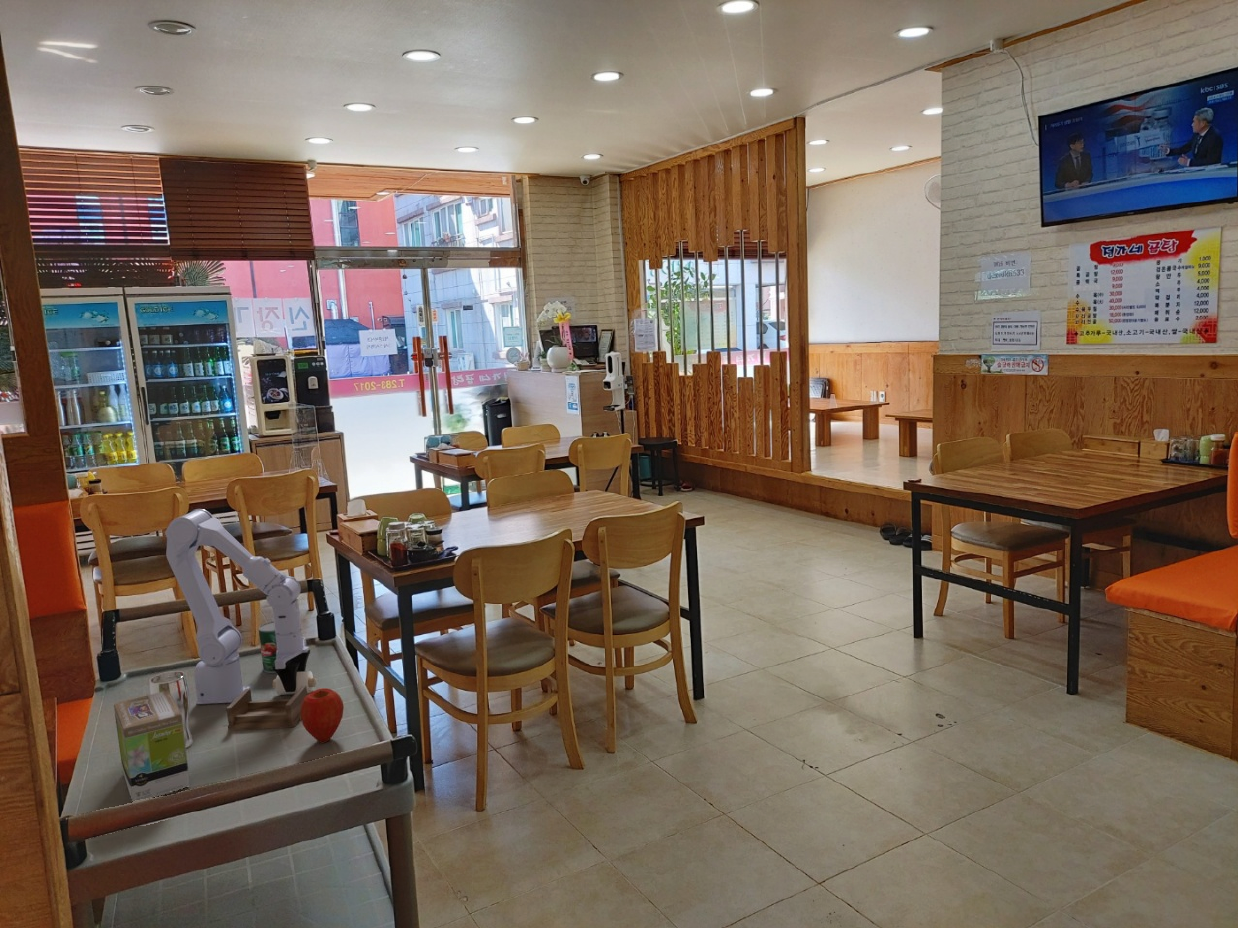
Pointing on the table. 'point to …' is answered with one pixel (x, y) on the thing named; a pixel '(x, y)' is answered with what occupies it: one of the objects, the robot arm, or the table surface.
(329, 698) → the apple
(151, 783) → the tea box
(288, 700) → the holder
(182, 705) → the beer glass
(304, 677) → the roll
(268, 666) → the canned tomato
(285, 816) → the table surface
